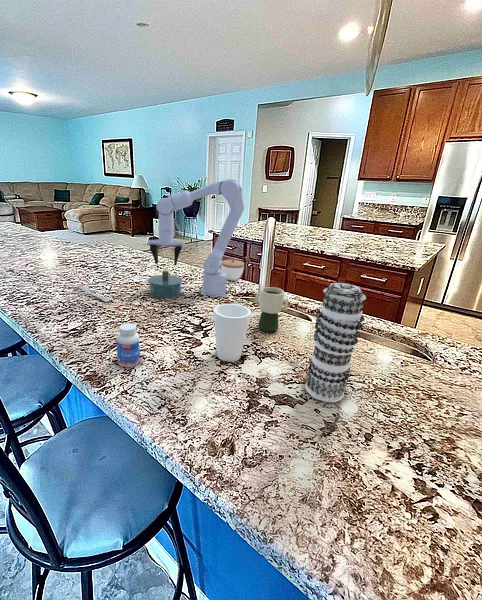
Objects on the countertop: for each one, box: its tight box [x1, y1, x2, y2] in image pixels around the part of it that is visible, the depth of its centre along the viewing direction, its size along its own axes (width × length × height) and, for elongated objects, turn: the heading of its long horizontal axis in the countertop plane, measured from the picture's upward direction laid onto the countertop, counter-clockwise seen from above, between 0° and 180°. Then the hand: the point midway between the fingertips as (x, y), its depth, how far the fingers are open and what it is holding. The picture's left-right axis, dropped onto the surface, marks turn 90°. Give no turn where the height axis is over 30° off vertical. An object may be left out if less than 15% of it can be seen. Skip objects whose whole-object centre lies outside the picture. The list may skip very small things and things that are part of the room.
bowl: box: [148, 282, 182, 299], centre depth 126 cm, size 12×12×6 cm
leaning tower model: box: [304, 282, 367, 403], centre depth 69 cm, size 9×9×25 cm
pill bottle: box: [116, 322, 140, 368], centre depth 79 cm, size 6×5×10 cm
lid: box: [147, 269, 183, 286], centre depth 125 cm, size 13×13×5 cm
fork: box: [75, 285, 110, 303], centre depth 122 cm, size 3×21×3 cm, turn 53°
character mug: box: [254, 286, 289, 333], centre depth 99 cm, size 11×7×13 cm, turn 54°
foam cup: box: [212, 303, 252, 363], centre depth 83 cm, size 10×9×13 cm
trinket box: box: [220, 258, 245, 282], centre depth 149 cm, size 11×11×9 cm
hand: (166, 264), depth 130 cm, fingers open, 7 cm apart
